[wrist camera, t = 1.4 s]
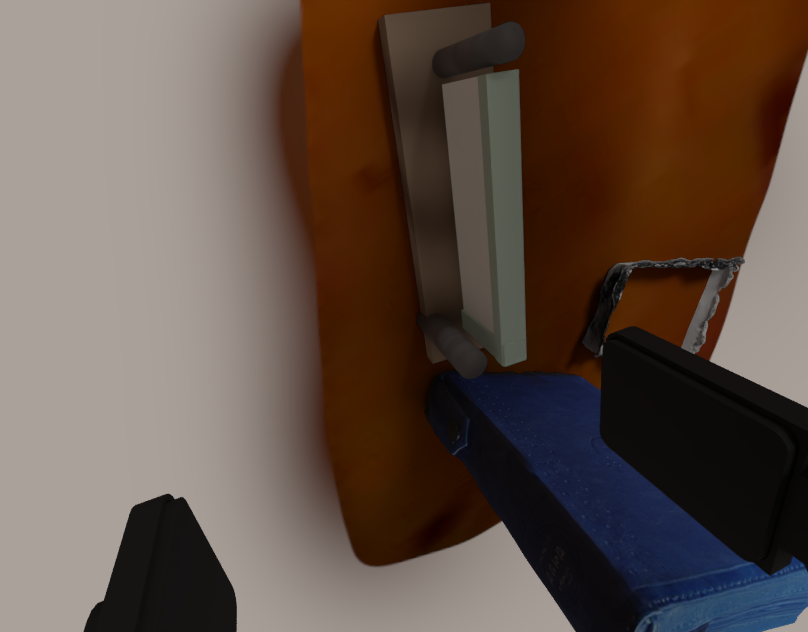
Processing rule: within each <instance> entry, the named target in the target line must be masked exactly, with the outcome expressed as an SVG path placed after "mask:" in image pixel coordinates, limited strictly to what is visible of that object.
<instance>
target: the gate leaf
mask: <svg viewBox="0 0 808 632" xmlns="http://www.w3.org/2000/svg"><path fill="white" fill-rule="evenodd" d="M442 91H443V101H444V111H445V121H446V132H447V142H448V152H449V163H450V173H451V183H452V194H453V204H454V214H455V224H456V235H457V245H458V255H459V266H460V276H461V286H462V296H463V307H464V309H462V310H461V314H462V324H463V329H465V330H466V331H467V332H468V333H469V334H470V335H471V336H472V337H473V338H474V339H475V340H477V341H478V342H479V343H480V344H481V345H482V346H483V347H484V348H485V349H486V350H487V351H489V352H490V353H491V354H492V355H493V356H494V357H495V358H496V361H497V362H498V363H500V364H501V365H502V366H505V367H506V366H509V365H512V364H515V363H518V362H521V361H524V360H526V358H527V352H526V315H525V278H524V241H523V204H522V167H521V130H520V93H519V69H516V70H510V71H503V72H497V73H491V74H485V75H480V76H477V77H473V78H469V79H464V80H460V81H456V82H451V83H447V84H442Z"/></svg>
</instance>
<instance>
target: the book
mask: <svg viewBox="0 0 808 632" xmlns="http://www.w3.org/2000/svg"><path fill="white" fill-rule="evenodd" d="M600 402H601V390H599V389H598V388H596V387H595V386H593V385H592V384H590V383H589V382H588V381H587V380H585V379H584V378H582V377H580V376H578V375H574V374H565V373H561V372H553V373H546V372H541V371H535V372H524V373H521V374H517V373H514V372H513V371H508V372H502V373H492V372H486V371H484V372H483V373H482V374H481V375H480V376H478V377H476V378H474V379H466V378H464V377H462V376H461V375H460V373H459V372H458V371H453V370H452V371H446V372H444V373H441V374H439V375H437V376H436V378H435V379H434V380H433V382H432V384H431V387H430V390H429V393H428V396H427V399H426V401H425V411H424V412H425V414H426V418H427V420H428V421H429V423H430V424H431V426H432V428H433V430H434V432H435V434H436V435H437V436H438V437H439V439H440V440H441V442H442V443H443V444H444V445H445V447H446V448H447V450H448V451H449V453H451V454H453V455H454V456H456V457H458V458H459V459H460V460H461V461H462V462H463V463H464V464H465V466H466V467H467V469H468V470H469V472H470V474H471V475H472V477H473V478H474V480H475V481H476V483H477V485H478V487H479V489H480V490H481V492H482V493H483V495H484V496H485V498H486V499H487V501H488V502H489V504H490V505H491V507H492V508H493V510H494V511H495V513H496V514H497V515H498V516H499V518H500V519H501V520H502V521H503V523H504V524H505V526H506V527H507V529H508V530H509V532H510V534H511V535H512V537H513V538H514V540H515V542H516V543H517V545H518V546H519V548H520V550H521V551H522V553H523V554H524V556H525V558H526V559H527V561H528V562H529V564H530V565H531V566H532V568H533V570H534V571H535V572H536V574H537V575H538V577H539V578H540V579H541V581H542V583H543V584H544V585H545V587H546V588H547V590H548V591H549V593H550V594H551V595H552V597H553V598H554V600H555V601H556V603H557V604H558V606H559V607H560V609H561V610H562V612H563V613H564V615H565V616H566V618H567V619H568V621H569V622H570V624H571V625H572V627H573V628H574V630H575V631H576V632H762V631H765V630H769V629H772V628H777V627H780V626H784V625H788V624H791V623H794V622H795V621H796V619H797V616H798V615H799V614H800V613H801V612H802V611H803V610H804V609H805V608H806V607H808V572H807V570H806V568H805V565H804V564H803V563H801V562H800V561H799V560H797V559H796V558H795V557H794V556H793V558H792V561H791V564H790V565H788V566H786V567H784V568H783V569H781V570H779V571H778V572H776V573H774V574H772V575H771V576H769V575H768V574H767V573H765V572H764V571H763V570H762V569H761V568H759V567H758V566H757V565H756V564H755V563H752V562H748V561H745V560H743V559H742V558H740V557H739V556H738V555H736V554H735V553H734V552H733V551H732V550H731V549H729V548H728V547H727V546H726V545H725V544H723V543H722V542H721V541H720V540H719V539H717V538H716V537H715V536H714V535H713V534H711V533H710V532H709V531H708V530H707V529H705V528H704V527H703V526H702V525H701V524H699V523H698V522H697V521H696V520H695V519H694V518H692V517H691V516H690V515H689V514H688V513H686V512H685V511H684V510H683V509H682V508H680V507H679V506H678V505H677V504H676V503H674V502H673V501H672V500H671V499H670V498H668V497H667V496H666V495H665V494H664V493H662V492H661V491H660V490H659V489H658V488H657V487H655V486H654V485H653V484H652V483H651V482H649V481H648V480H647V479H646V478H645V477H643V476H642V475H641V474H640V473H639V472H637V471H636V470H635V469H634V468H633V467H631V466H630V465H629V464H628V463H627V462H625V461H624V460H623V459H622V458H621V457H620V456H618V455H617V454H616V453H615V452H614V451H612V450H611V449H610V448H609V447H608V446H607V445H606V444H605V443H604V442H603V440H602V438H601V435H600Z"/></svg>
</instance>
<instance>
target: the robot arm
mask: <svg viewBox="0 0 808 632" xmlns="http://www.w3.org/2000/svg"><path fill="white" fill-rule="evenodd" d="M600 435H601V438H602V440H603V442H604V443H605V444H606V445H607V446H608V447H609V448H610V449H611V450H612V451H614V452H615V453H616V454H617V455H618V456H620V457H621V458H622V459H623V460H624V461H625V462H627V463H628V464H629V465H630V466H631V467H633V468H634V469H635V470H636V471H637V472H639V473H640V474H641V475H642V476H643V477H645V478H646V479H647V480H648V481H649V482H651V483H652V484H653V485H654V486H655V487H657V488H658V489H659V490H660V491H661V492H662V493H664V494H665V495H666V496H667V497H668V498H670V499H671V500H672V501H673V502H674V503H676V504H677V505H678V506H679V507H680V508H682V509H683V510H684V511H685V512H686V513H688V514H689V515H690V516H691V517H692V518H694V519H695V520H696V521H697V522H698V523H699V524H701V525H702V526H703V527H704V528H705V529H707V530H708V531H709V532H710V533H711V534H713V535H714V536H715V537H716V538H717V539H719V540H720V541H721V542H722V543H723V544H725V545H726V546H727V547H728V548H729V549H731V550H732V551H733V552H734V553H735V554H736V555H738V556H739V557H740V558H742V559H743V560H745V561H748V562H752V563H755V564H756V565H757V566H758V567H759V568H761V569H762V570H763V571H764V572H765V573H767V574H768V575H769V576H771V575H772V574H774V573H776V572H778V571H779V570H781V569H783V568H784V567H786V566H788V565H790V564H791V561H792V558H793V556H794V557H795V558H796V559H797V560H799V561H800V562H801V563H803V564H804V565H805V568H806V570H807V572H808V408H807V407H805V406H803V405H801V404H799V403H797V402H794V401H792V400H790V399H788V398H786V397H784V396H782V395H780V394H778V393H775V392H773V391H771V390H769V389H767V388H765V387H763V386H761V385H759V384H756V383H754V382H752V381H750V380H748V379H746V378H744V377H742V376H740V375H737V374H735V373H733V372H731V371H729V370H727V369H725V368H723V367H721V366H718V365H716V364H714V363H712V362H710V361H708V360H706V359H704V358H702V357H699V356H697V355H695V354H693V353H691V352H689V351H687V350H685V349H683V348H680V347H678V346H676V345H674V344H672V343H670V342H668V341H666V340H664V339H661V338H659V337H657V336H655V335H653V334H651V333H649V332H647V331H645V330H642V329H640V328H638V327H635V326H632V327H628V328H625V329H622V330H619V331H616V332H614V333H611V334H610V335H608V337H607V338H606V342H605V343H604V345H603V348H602V374H601V402H600ZM236 605H237V604H236V597H235V592H234V589H233V587H232V585H231V583H230V581H229V579H228V577H227V575H226V574H225V572H224V570H223V568H222V566H221V564H220V562H219V561H218V559H217V557H216V555H215V553H214V551H213V549H212V548H211V546H210V544H209V542H208V540H207V539H206V536H205V535H204V533H203V531H202V529H201V527H200V525H199V524H198V522H197V520H196V518H195V516H194V514H193V512H192V510H191V509H190V507H189V505H188V503H187V501H186V500H185V499H184V498H183V497H180V498H178V499H174V498H173V496H172V495H170V494H165V495H162V496H160V497H157V498H154V499H151V500H148V501H146V502H143V503H140V504H137V505H135V506H134V507H133V508H132V509H131V512H130V514H129V518H128V522H127V524H126V528H125V531H124V535H123V538H122V541H121V545H120V548H119V552H118V555H117V559H116V561H115V565H114V568H113V572H112V575H111V578H110V582H109V585H108V588H107V592H106V595H105V598H104V601H102V602H99V603H97V605H96V606H95V607H94V608H93V609H92V611H91V613H90V615H89V618H88V620H87V623H86V626H85V629H84V632H236V630H237V627H236V626H237V625H236V624H237V606H236Z"/></svg>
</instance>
